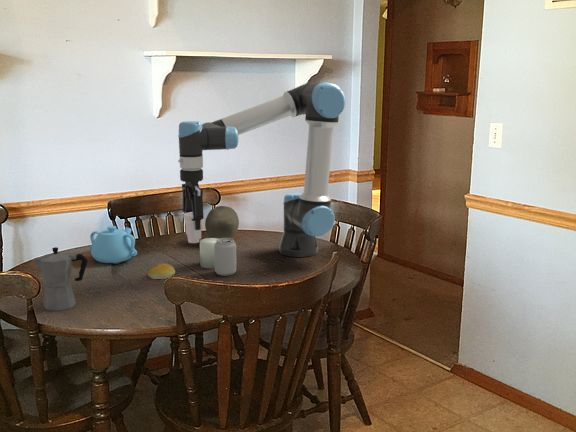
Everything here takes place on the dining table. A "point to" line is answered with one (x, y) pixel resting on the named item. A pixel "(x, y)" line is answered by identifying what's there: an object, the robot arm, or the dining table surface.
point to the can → (225, 256)
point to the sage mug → (207, 252)
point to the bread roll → (161, 271)
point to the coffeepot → (59, 278)
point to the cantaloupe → (222, 222)
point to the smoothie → (189, 227)
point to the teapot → (113, 245)
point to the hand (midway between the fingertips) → (193, 236)
